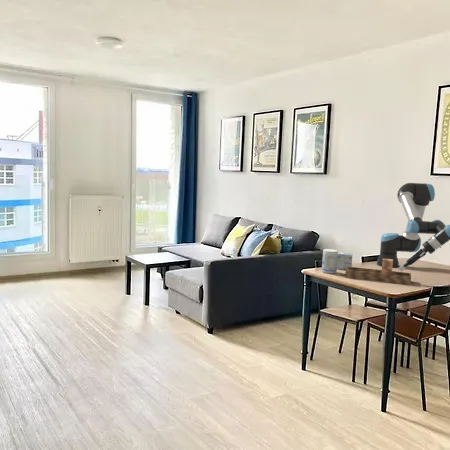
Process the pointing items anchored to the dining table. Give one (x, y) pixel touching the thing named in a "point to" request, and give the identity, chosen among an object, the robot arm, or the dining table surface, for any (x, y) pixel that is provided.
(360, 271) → the box
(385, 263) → the block
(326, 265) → the supplement tub
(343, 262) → the light bulb box
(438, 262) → the dining table surface
